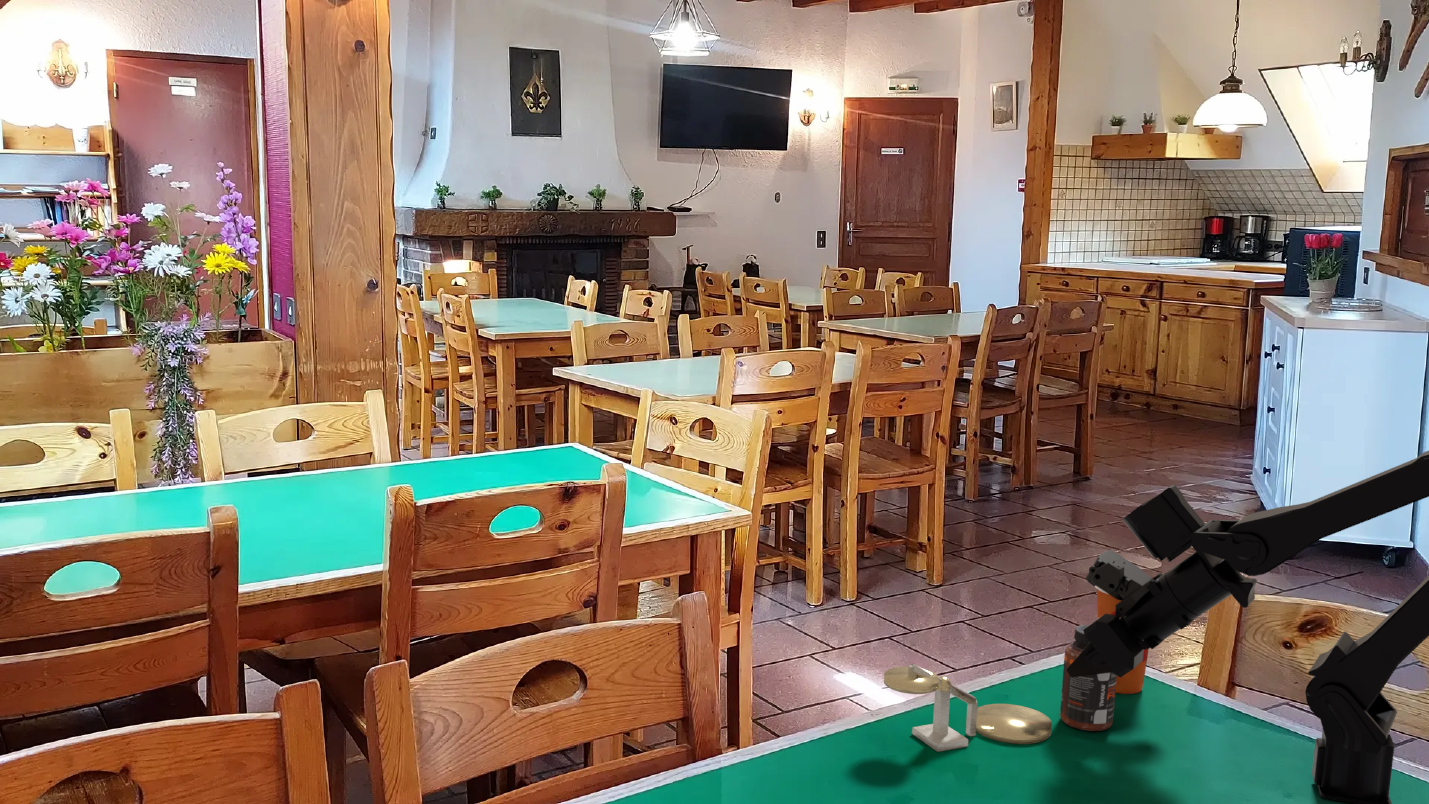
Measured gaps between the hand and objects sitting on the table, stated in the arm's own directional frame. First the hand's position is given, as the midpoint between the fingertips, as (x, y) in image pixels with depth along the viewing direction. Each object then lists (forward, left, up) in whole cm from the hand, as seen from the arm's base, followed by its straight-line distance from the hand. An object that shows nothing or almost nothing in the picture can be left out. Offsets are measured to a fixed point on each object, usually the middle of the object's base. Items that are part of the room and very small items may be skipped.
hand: (1078, 665), depth 142 cm
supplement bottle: (-1, 0, -7) cm, 7 cm away
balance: (+11, +10, -7) cm, 16 cm away
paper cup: (-4, -14, -7) cm, 16 cm away
